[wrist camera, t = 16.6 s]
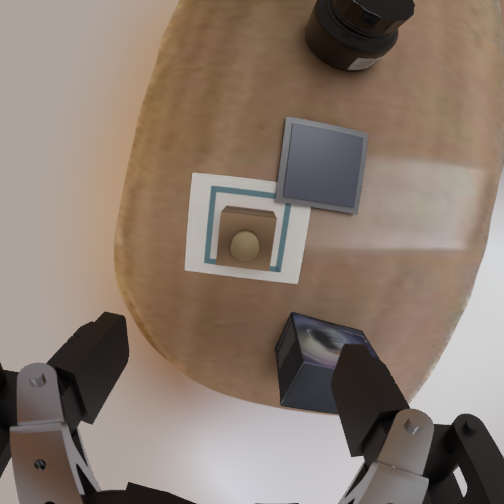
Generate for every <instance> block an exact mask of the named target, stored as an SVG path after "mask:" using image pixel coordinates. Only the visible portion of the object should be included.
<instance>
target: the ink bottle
mask: <svg viewBox="0 0 504 504" xmlns="http://www.w3.org/2000/svg"><path fill="white" fill-rule="evenodd" d="M414 7H415V4H414V2H413V0H317V1H316V3H315V6H314V8H313V11H312V13H311V16H310V19H309V21H308V24H307V27H306V40H307V43H308V46H309V47H310V49H311V51H312V52H313V53H314V54H315V55H316V56H317V57H318V58H319V59H320V60H322V61H323V62H325V63H326V64H328V65H330V66H332V67H334V68H337V69H340V70H343V71H350V72H357V71H362V70H364V69H367V68H368V67H370V66H371V65H373V64H374V63H375V62H376V61H377V60H379V59H380V58H381V57H382V56H383V55H385V54H386V53H387V52H388V51H389V50H390V49H391V48H392V47H393V46H394V45H395V43H396V41H397V38H398V28H399V27H400V26H401V25H402V24H403V23H404V22H406V21H407V20H408V19H409V18H410V17H411V16H412V15H413V14H414Z"/></svg>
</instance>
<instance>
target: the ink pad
mask: <svg viewBox="0 0 504 504" xmlns="http://www.w3.org/2000/svg"><path fill="white" fill-rule="evenodd" d="M367 143H368V133H364V132H360V131H356V130H352V129H348V128H344V127H339V126H335V125H330V124H325V123H320V122H315V121H310V120H305V119H299V118H293V117H287V116H286V118H285V125H284V132H283V140H282V148H281V156H280V163H279V171H278V178H277V187H276V194H275V202H281V203H289V204H295V205H302V206H309V207H315V208H322V209H328V210H334V211H340V212H346V213H351V214H357V212H358V207H359V201H360V195H361V188H362V182H363V175H364V167H365V160H366V151H367Z"/></svg>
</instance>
